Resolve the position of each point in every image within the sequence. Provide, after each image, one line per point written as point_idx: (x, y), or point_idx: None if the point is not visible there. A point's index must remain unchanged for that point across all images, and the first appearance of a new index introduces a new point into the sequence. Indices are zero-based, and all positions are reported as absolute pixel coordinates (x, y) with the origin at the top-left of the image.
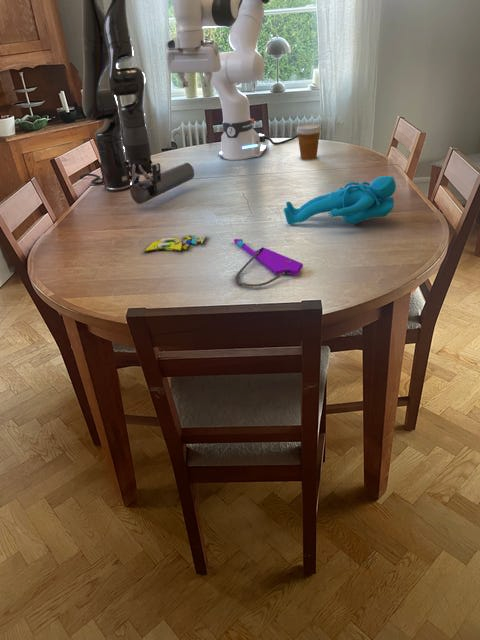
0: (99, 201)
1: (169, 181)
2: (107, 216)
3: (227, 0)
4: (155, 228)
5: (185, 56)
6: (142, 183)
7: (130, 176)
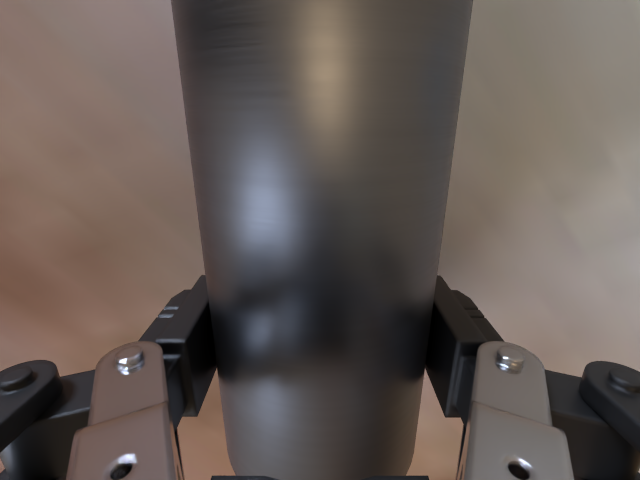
0: None
1: None
2: (188, 439)
3: None
4: None
5: None
6: (356, 458)
7: (53, 476)
